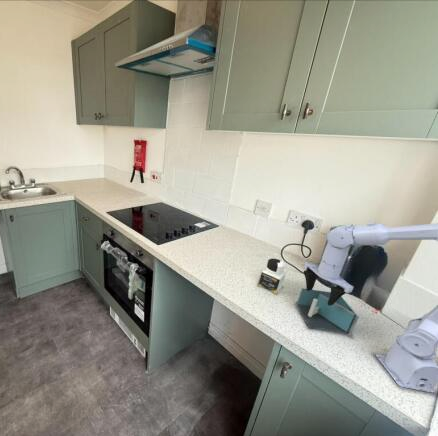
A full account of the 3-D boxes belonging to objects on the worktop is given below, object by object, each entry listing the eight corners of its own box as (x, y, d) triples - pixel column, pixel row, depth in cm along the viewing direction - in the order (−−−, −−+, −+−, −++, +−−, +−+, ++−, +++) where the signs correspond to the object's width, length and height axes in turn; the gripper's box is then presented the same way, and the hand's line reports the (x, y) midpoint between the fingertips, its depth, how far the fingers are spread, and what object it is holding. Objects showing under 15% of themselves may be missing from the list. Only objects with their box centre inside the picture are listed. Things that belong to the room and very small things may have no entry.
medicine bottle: (257, 285, 101) (264, 260, 97) (264, 278, 106) (271, 254, 101) (275, 294, 97) (283, 268, 92) (281, 286, 101) (289, 261, 97)
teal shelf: (338, 337, 77) (346, 319, 74) (305, 314, 85) (311, 297, 82) (347, 331, 79) (355, 313, 76) (314, 309, 87) (320, 293, 85)
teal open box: (350, 336, 78) (359, 316, 75) (309, 329, 80) (316, 310, 77) (331, 310, 89) (339, 292, 86) (296, 305, 91) (302, 287, 88)
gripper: (365, 272, 72) (349, 309, 77) (319, 249, 85) (308, 282, 90) (349, 276, 70) (334, 313, 75) (304, 252, 83) (294, 285, 88)
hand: (319, 296), depth 82 cm, fingers open, 7 cm apart
